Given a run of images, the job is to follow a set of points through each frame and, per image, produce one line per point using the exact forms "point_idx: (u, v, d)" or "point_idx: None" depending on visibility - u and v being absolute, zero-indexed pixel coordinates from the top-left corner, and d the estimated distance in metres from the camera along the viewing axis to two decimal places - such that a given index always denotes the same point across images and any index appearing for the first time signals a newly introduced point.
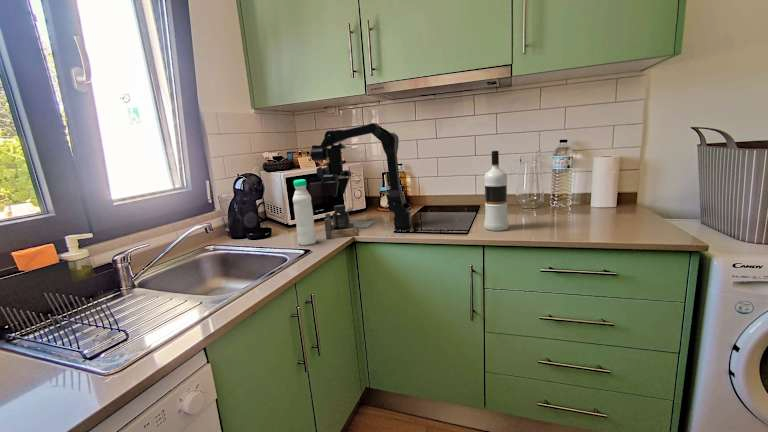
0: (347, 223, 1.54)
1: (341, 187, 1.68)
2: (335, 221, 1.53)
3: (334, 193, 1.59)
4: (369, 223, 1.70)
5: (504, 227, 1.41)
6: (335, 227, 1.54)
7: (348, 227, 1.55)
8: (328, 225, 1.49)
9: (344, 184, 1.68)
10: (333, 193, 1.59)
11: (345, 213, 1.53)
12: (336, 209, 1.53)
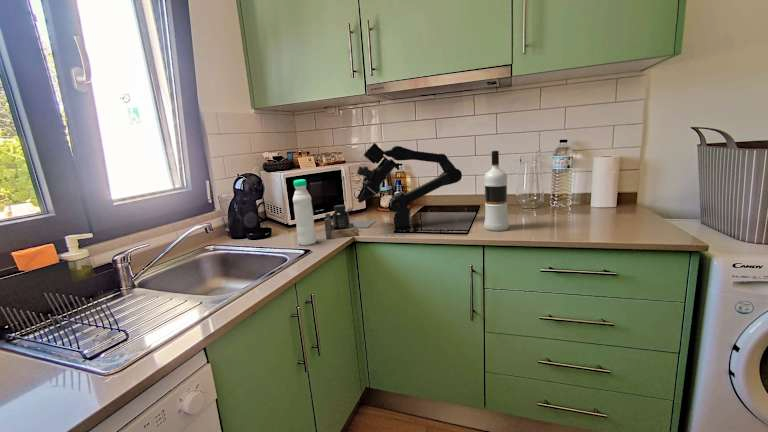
0: (347, 223, 1.54)
1: (361, 192, 1.59)
2: (335, 221, 1.53)
3: (362, 199, 1.50)
4: (369, 223, 1.70)
5: (504, 227, 1.41)
6: (335, 227, 1.54)
7: (348, 227, 1.55)
8: (328, 225, 1.49)
9: None
10: (361, 198, 1.50)
11: (345, 213, 1.53)
12: (336, 209, 1.53)
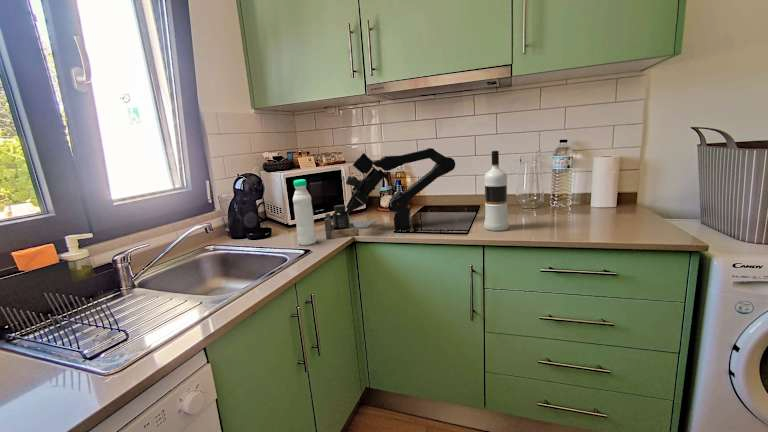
0: (347, 223, 1.54)
1: (350, 202, 1.59)
2: (335, 221, 1.53)
3: (350, 209, 1.50)
4: (369, 223, 1.70)
5: (504, 227, 1.41)
6: (335, 227, 1.54)
7: (348, 227, 1.55)
8: (328, 225, 1.49)
9: None
10: (349, 208, 1.50)
11: (345, 213, 1.53)
12: (336, 209, 1.53)
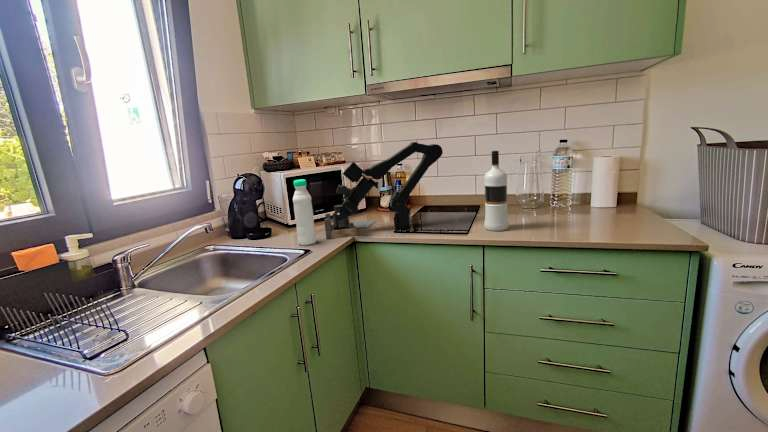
0: (347, 223, 1.54)
1: None
2: (335, 221, 1.53)
3: (340, 218, 1.51)
4: (369, 223, 1.70)
5: (504, 227, 1.41)
6: (335, 227, 1.54)
7: (348, 227, 1.55)
8: (328, 225, 1.49)
9: None
10: (340, 217, 1.51)
11: None
12: (336, 209, 1.53)
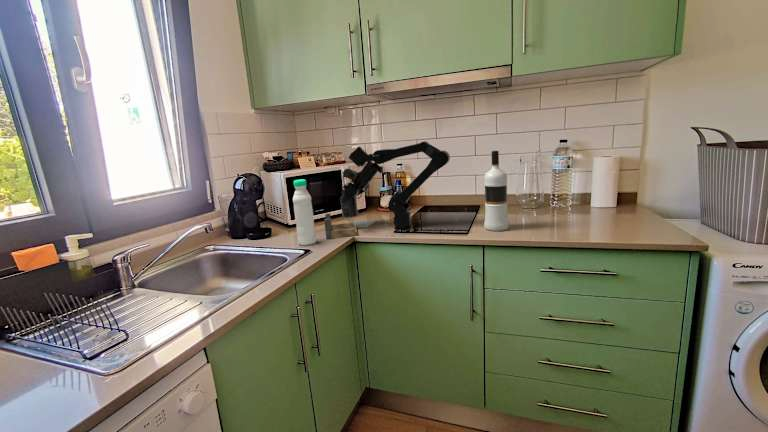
0: (352, 206, 1.61)
1: None
2: (341, 203, 1.62)
3: (345, 200, 1.59)
4: (369, 223, 1.70)
5: (504, 227, 1.41)
6: (342, 209, 1.62)
7: (353, 210, 1.61)
8: (328, 225, 1.49)
9: None
10: (344, 199, 1.59)
11: None
12: (343, 192, 1.61)
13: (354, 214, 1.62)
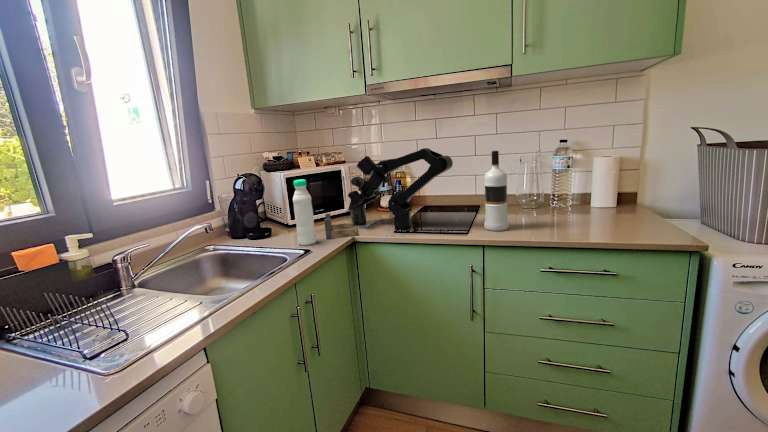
0: (360, 215, 1.66)
1: (363, 200, 1.72)
2: None
3: (351, 207, 1.64)
4: (369, 223, 1.70)
5: (504, 227, 1.41)
6: (351, 217, 1.69)
7: (361, 219, 1.67)
8: (328, 225, 1.49)
9: (367, 200, 1.71)
10: (350, 207, 1.64)
11: None
12: None
13: (361, 223, 1.67)
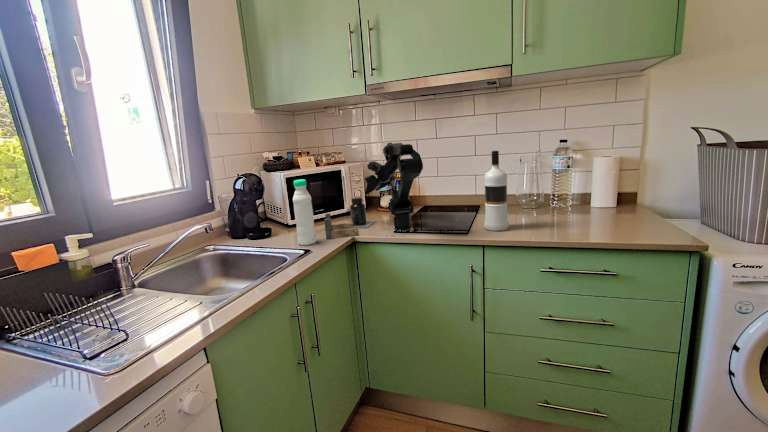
0: (360, 215, 1.66)
1: None
2: None
3: (367, 192, 1.67)
4: (369, 223, 1.70)
5: (504, 227, 1.41)
6: (351, 217, 1.69)
7: (361, 219, 1.67)
8: (328, 225, 1.49)
9: (382, 185, 1.74)
10: (366, 191, 1.67)
11: (358, 205, 1.66)
12: (352, 201, 1.67)
13: (361, 223, 1.67)
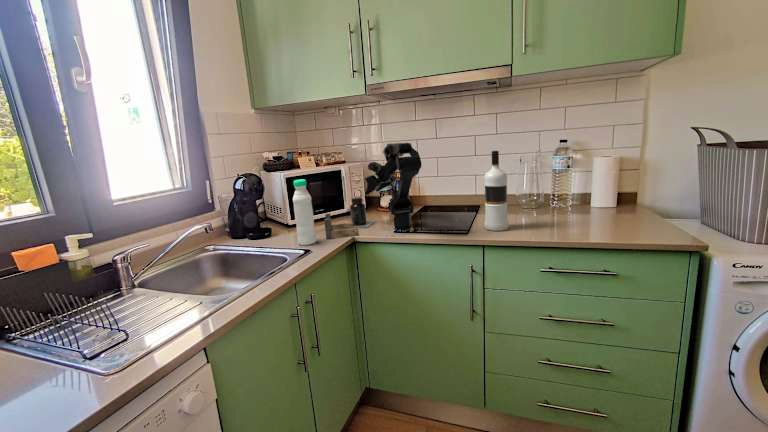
0: (360, 215, 1.66)
1: None
2: None
3: (367, 192, 1.68)
4: (369, 223, 1.70)
5: (504, 227, 1.41)
6: (351, 217, 1.69)
7: (361, 219, 1.67)
8: (328, 225, 1.49)
9: (383, 186, 1.75)
10: (367, 191, 1.68)
11: (358, 205, 1.66)
12: (352, 201, 1.67)
13: (361, 223, 1.67)
